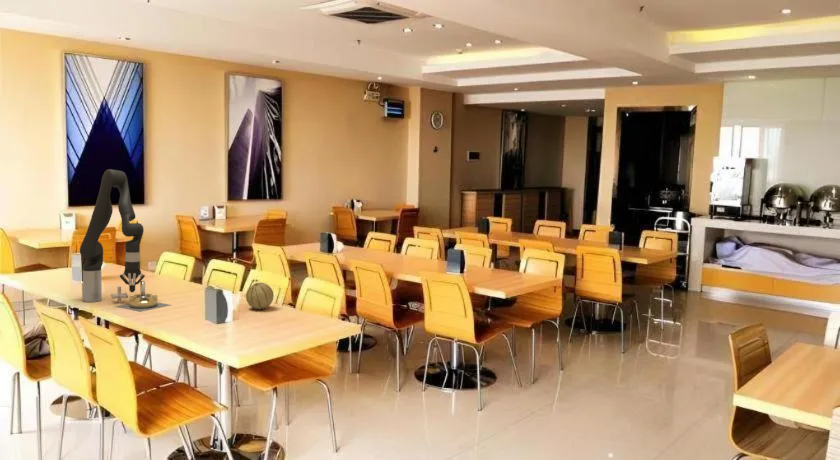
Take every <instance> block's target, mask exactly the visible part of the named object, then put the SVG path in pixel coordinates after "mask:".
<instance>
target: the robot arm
mask: <svg viewBox="0 0 840 460" xmlns="http://www.w3.org/2000/svg"><path fill="white" fill-rule="evenodd" d="M100 182H101V183H100V187H99V192H98V195H97V199H96V202H95V206H94V208H93V211H92V214H91V217H90V221H89V223H88V227H87V230H86V233H85V235H84V238H83V240H82V242H81V245H80V247H79V254H80V256H81V257H82V258H83V259H84V260H85V259H86V261H85V263H83V265H82V283H81V287H82V288H81V294H82V295H81V296H82V297H81V298H82V301H83V302H87V303H95V302H96V303H97V302H100V301H102V297H103V295H102V294H103V293H102V289H103V288H102V287H103V285H102V267H103V264H104V246H103V244H102V243H101V242H100V241H99V239H100V237H101V235H102V233H104V231H105V229H106V228H107V226H108V225H109V223H110V220H111V217H112V215H113V211H114V209H113V205H112V200H111V192H112V189H113V188H117V189H118V191H119V200H118V205H117V208H118V212H119V215H120V218H121V232H122V235H124V236H125V237H129V238H130V237H132V239H130V240H128V241H126V242H125V254H124V271H123V273H122V274H119V277H120V279H121V280H122V281H123V282H124V284H125V285H128V290H129V292H130V293H135V291H136V285H139V283H140V281H143V279H144V278H145V277H146V275H145V274H143V273H142V271H141V251H140V250H141V242H142V238H143V235H144V226H143V224H142V223H141V222H140V223H139V222H135V223H134V222H133V223H132V222H131V221H134V220H135V219H136V213H135V211H134V207H133V203H132V201H131V200H132V199H131V195H130V187H129V182H128V176H127V175H126V173H125V172H124V171H122V170H117V169H111V168H110V169H106V170H105V171H104V173H103V174H102V176H101V181H100ZM130 222H131V223H130ZM138 278H139V279H138ZM137 279H138V280H137Z"/></svg>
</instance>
